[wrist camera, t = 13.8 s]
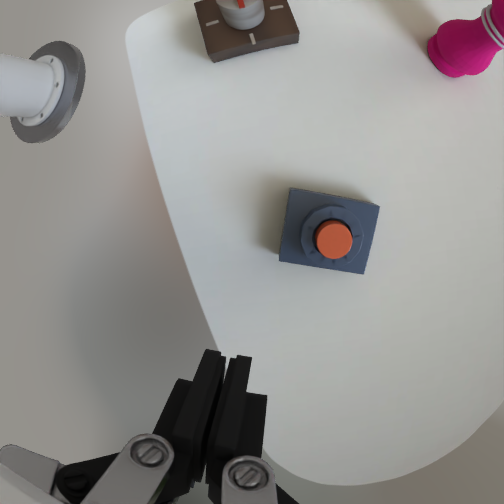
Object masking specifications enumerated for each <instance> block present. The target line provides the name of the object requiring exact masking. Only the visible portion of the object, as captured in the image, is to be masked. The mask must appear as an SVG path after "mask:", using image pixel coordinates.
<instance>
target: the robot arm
mask: <svg viewBox="0 0 504 504" xmlns="http://www.w3.org/2000/svg"><path fill="white" fill-rule="evenodd" d="M64 77H65V75H64V67H63V64H62V62H61V61H60V60H59V59H58V58H57V57H55V56H51V55H45V56H42V57H40V58H38V59H37V60H35V61H34V60H30V59H26V58H22V57H17V56H12V55H8V54H3V53H0V116H11V117H17V118H18V120H19V121H20V123H22V124H23V125H25V126H36V125H39V124H41V123H42V122H43V121H45V120H46V119H47V118H48V117H49V116H50V114H51V113H52V112H53V110H54V108H55V107H56V105H57V103H58V101H59V99H60V96H61V93H62V90H63V85H64ZM251 361H252V357H247V356H241V355H237V357H236V358H230V361H229V365H228V369H227V372H226V376H225V380H224V372H225V363H226V357H225V356H221V352H219V351H214V350H209V349H206V350H205V352H204V354H203V357H202V359H201V362H200V364H199V367H198V369H197V372H196V374H195V377H194V379H193V382H192V381H188V380H184V379H178V380H177V381H176V383H175V385H174V388H173V390H172V392H171V394H170V396H169V398H168V401H167V403H166V405H165V407H164V409H163V412H162V413H161V416H160V418H159V420H158V422H157V424H156V427H155V429H154V431H153V433H152V434H140V435H137V436H135V437H133V438H132V439H131V440H130V441H129V442H128V443H127V444H126V445H125V447H124V448H123V449H122V451H121V452H119V453H115V454H111V455H108V456H104V457H100V458H96V459H92V460H87V461H83V462H78V463H73V464H69V465H64V464H61V463H60V462H59V461H57V460H54V459H51V458H48V457H45V456H42V455H40V454H37V453H34V452H32V451H29V450H26V449H24V448H21V447H19V446H17V445H12V444H10V445H6V446H4V447H2V448H1V449H0V504H176V502H177V501H178V498H179V496H181V495H184V494H186V493H188V492H189V490H190V487H191V488H193V487H194V483H195V481H196V482H201V480H202V476H203V472H204V469H205V465H206V484H209V490H208V497H209V499H210V500H211V501H212V502H213V503H214V504H299V503H298V502H296V501H295V500H294V499H293V498H292V497H290V496H289V495H288V494H287V493H286V492H285V491H284V490H282V489H281V488H280V487H279V486H278V485H277V484H276V483H275V475H274V472H273V469H272V468H271V466H270V465H269V464H268V463H267V462H266V461H264V460H263V459H261V454H262V445H263V436H264V426H265V416H266V406H267V395H261V394H255V393H248V392H246V390H247V384H248V378H249V372H250V367H251ZM223 381H224V383H223Z"/></svg>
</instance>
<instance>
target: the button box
mask: <svg viewBox="0 0 504 504" xmlns="http://www.w3.org/2000/svg"><path fill="white" fill-rule="evenodd" d="M379 208H380V206H378V205H376V204H374V203H369V202H365V201H360V200H355V199H350V198H345V197H340V196H335V195H330V194H324V193H319V192H313V191H307V190H302V189H296V188H290V191H289V198H288V204H287V210H286V216H285V222H284V229H283V235H282V241H281V246H280V252H279V261H281V262H288V263H294V264H300V265H307V266H313V267H319V268H326V269H332V270H338V271H345V272H351V273H357V274H364V272H365V268H366V264H367V260H368V256H369V252H370V248H371V244H372V240H373V236H374V231H375V227H376V223H377V218H378V213H379ZM330 220H336V221H339V222H341V223H342V224H344V225H345V226H346V227H347V229H348V230H349V231H350V233H351V235H352V245H351V248H350V250H349V251H348V253H347V254H346V255H344V256H343V257H340V258H337V259H331V258H327V257H325V256H324V255H322V254H321V253H320V251H319V249H318V247H317V244H316V241H315V234H316V231H317V229H318V228H319V226H320V225H321V224H323V223H324V222H326V221H330Z"/></svg>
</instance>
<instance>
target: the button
mask: <svg viewBox="0 0 504 504" xmlns="http://www.w3.org/2000/svg"><path fill="white" fill-rule="evenodd" d="M315 241H316V244H317V247H318V249H319V251H320V253H321V254H322V255H324V256H325V257H327V258H331V259H337V258H340V257H343V256H344V255H346V254H347V253H348V251H349V250H350V248H351V245H352V235H351V233H350V231H349V230H348V229H347V227H346V226H345V225H344V224H342V223H341V222H339V221H336V220H330V221H326V222H324V223H323V224H321V225H320V226H319V228H318V229H317V231H316V234H315Z"/></svg>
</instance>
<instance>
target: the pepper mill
mask: <svg viewBox="0 0 504 504" xmlns="http://www.w3.org/2000/svg"><path fill="white" fill-rule="evenodd" d="M427 48H428V53H429V56H430V58H431V60H432V62H433V63H434V65H435V66H436V67H437V68H438V69H439V70H440V71H441V72H442V73H443V74H445V75H447V76H449V77H455V78H456V77H460V76H463V75H465V74H466V75H477V74H479V73H481V72H483V71H484V70H485V69H486V68H487V67H488V66H489V65H490V63H491V61H492V59H493V57H494V55H495V54H496V52H497V51H499V50H501V49H504V0H492V4H490V5H488V6H487V7H485V8H483V10H482V12H481V16H480V17H479V18H477V19H475V20H461V19H456V20H450V21H447V22H445V23H443V24H442V25H441V26H440V27H439V29H438V31H437V34H435V35H434V36H433V37H431V38H430V39H429V41H428V46H427Z"/></svg>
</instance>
